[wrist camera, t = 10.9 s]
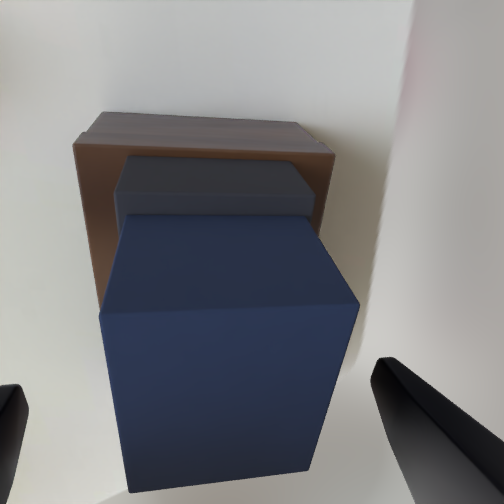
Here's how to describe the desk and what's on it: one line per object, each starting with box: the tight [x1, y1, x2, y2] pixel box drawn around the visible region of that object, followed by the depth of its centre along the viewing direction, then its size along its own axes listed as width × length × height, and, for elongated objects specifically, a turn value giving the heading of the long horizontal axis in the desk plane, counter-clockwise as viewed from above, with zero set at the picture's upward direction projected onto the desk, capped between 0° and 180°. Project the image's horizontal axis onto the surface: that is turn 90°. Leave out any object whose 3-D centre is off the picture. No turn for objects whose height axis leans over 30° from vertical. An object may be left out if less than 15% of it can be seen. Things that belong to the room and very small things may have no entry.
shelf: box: [73, 112, 335, 309], centre depth 15 cm, size 14×7×4 cm, turn 175°
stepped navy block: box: [99, 156, 360, 493], centre depth 10 cm, size 9×4×6 cm, turn 175°
